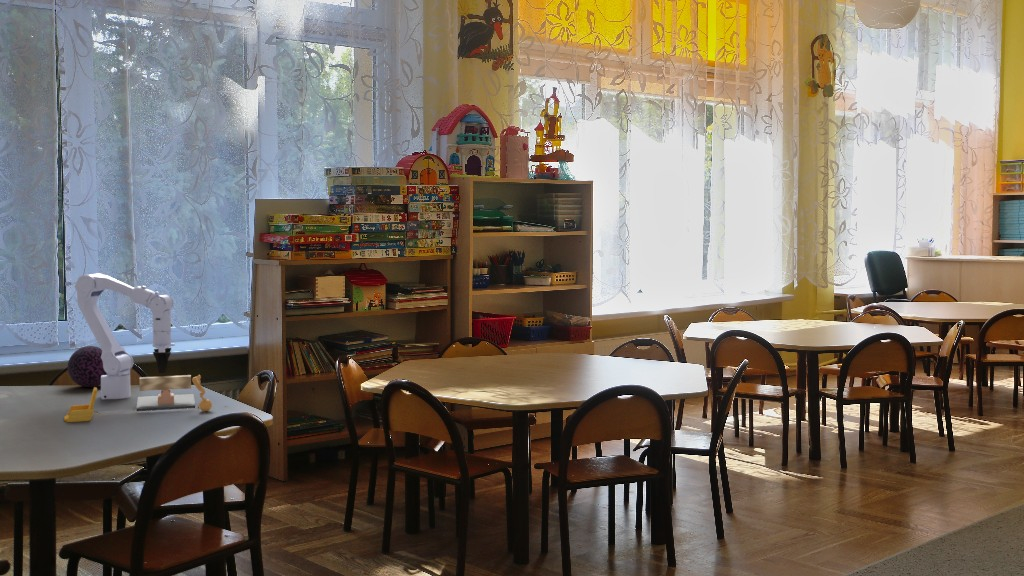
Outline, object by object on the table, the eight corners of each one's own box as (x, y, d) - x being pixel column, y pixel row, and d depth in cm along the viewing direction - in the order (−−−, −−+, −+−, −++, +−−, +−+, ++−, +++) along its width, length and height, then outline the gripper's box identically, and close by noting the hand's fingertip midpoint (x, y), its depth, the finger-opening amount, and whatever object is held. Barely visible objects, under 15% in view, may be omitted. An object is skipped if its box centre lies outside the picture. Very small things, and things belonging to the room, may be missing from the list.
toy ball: (102, 390, 364) (101, 349, 363) (60, 390, 364) (59, 348, 363) (119, 383, 379) (118, 343, 378) (79, 383, 379) (77, 343, 378)
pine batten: (139, 391, 332) (139, 378, 332) (139, 389, 335) (139, 377, 334) (191, 388, 337) (191, 376, 337) (191, 386, 340) (190, 375, 340)
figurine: (215, 413, 324) (214, 375, 324) (195, 414, 321) (195, 377, 321) (208, 408, 332) (207, 372, 331) (189, 410, 329) (188, 373, 328)
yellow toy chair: (64, 416, 319) (64, 387, 318) (97, 414, 323) (97, 385, 322) (64, 423, 309) (63, 393, 309) (98, 420, 313) (97, 391, 312)
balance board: (136, 411, 327) (136, 394, 326) (138, 400, 346) (137, 384, 345) (195, 408, 333) (194, 391, 332) (193, 397, 351) (193, 381, 351)
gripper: (174, 333, 336) (175, 373, 337) (174, 328, 350) (175, 367, 351) (151, 333, 334) (152, 374, 335) (152, 328, 348) (153, 368, 349)
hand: (162, 371), depth 343 cm, fingers open, 7 cm apart
